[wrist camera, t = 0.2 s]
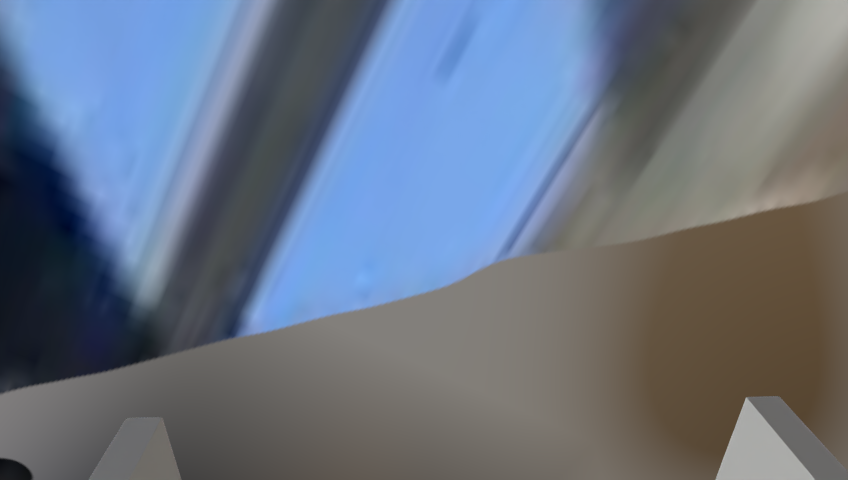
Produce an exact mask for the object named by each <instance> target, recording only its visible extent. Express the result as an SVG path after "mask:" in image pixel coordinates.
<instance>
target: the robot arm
mask: <svg viewBox="0 0 848 480" xmlns="http://www.w3.org/2000/svg"><path fill="white" fill-rule="evenodd" d="M89 480H181V478H180V474H179V471H178V468H177V464H176V461H175V458H174V454H173V451H172V448H171V445H170V441H169V438H168V435H167V431H166V428H165V425H164V422H163V418H162V417H150V418H126V419H125V421H124V423H123V424H122V426H121V428H120V429H119V431H118V432H117V434H116V436H115V438H114V439H113V441H112V442H111V444H110V446H109V447H108V449H107V450H106V452H105V454H104V455H103V457H102V459H101V460H100V462H99V463H98V465H97V467H96V468H95V470H94V472H93V474H92V475H91V477H90V478H89ZM716 480H848V471H847V470H846V469H845V468H844V467H843V466H842V465H841V464H840V463H839V461H838V460H837V459H836V458H835V457H834V456H833V455H832V454H831V453H830V452H829V451H828V449H827V448H826V447H825V446H824V445H823V444H822V443H821V442H820V441H819V440H818V439H817V438H816V436H815V435H814V434H813V433H812V432H811V431H810V430H809V429H808V428H807V426H806V425H805V424H804V423H803V422H802V421H801V420H800V419H799V418H798V417H797V416H796V415H795V413H794V412H793V411H792V410H791V409H790V408H789V407H788V406H787V405H786V404H785V402H784V401H783V400H782V399H781V398H780V397H779V396H767V397H747V398H746V400H745V402H744V405H743V408H742V410H741V413H740V416H739V418H738V421H737V424H736V426H735V429H734V432H733V434H732V437H731V440H730V442H729V445H728V448H727V451H726V453H725V456H724V458H723V461H722V464H721V467H720V469H719V472H718V475H717V477H716Z"/></svg>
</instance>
